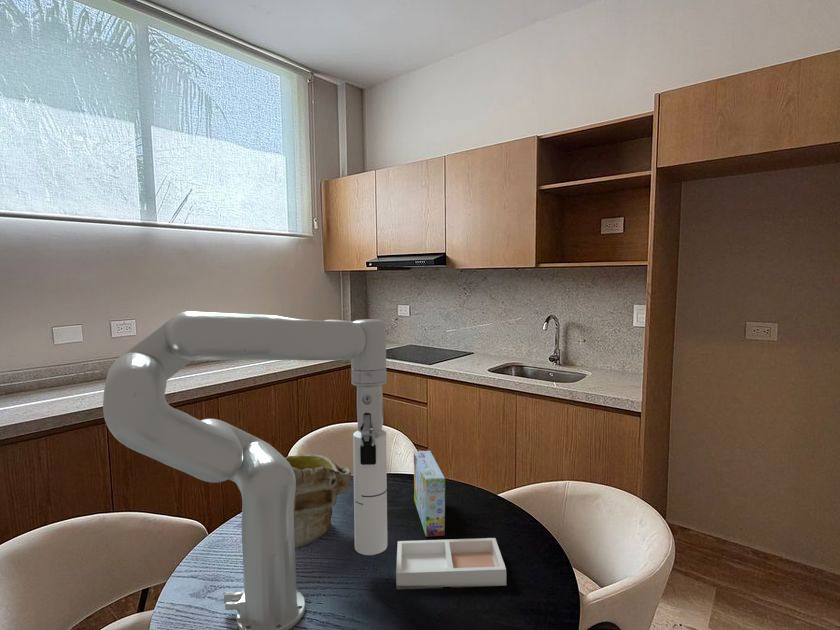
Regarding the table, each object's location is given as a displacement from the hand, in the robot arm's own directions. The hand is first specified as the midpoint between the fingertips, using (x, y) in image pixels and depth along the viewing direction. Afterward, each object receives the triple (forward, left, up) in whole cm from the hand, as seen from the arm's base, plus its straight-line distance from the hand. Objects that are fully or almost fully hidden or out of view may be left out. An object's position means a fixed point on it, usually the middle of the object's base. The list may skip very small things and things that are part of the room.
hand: (369, 456), depth 98 cm
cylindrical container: (0, 0, -20) cm, 20 cm away
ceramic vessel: (-19, +18, -26) cm, 37 cm away
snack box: (+13, +24, -26) cm, 38 cm away
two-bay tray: (+17, 0, -26) cm, 31 cm away
